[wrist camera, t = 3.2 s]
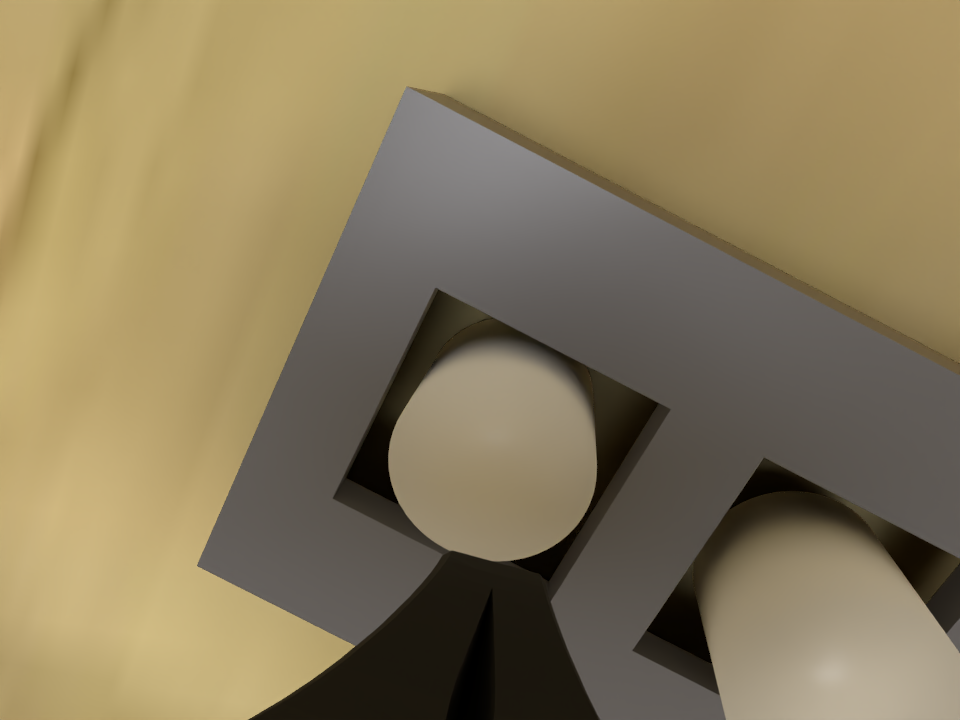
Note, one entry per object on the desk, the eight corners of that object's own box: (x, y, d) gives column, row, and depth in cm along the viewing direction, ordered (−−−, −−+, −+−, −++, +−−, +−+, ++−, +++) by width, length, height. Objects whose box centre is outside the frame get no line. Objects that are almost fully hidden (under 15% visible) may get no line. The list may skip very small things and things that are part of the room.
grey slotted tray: (1334, 560, 18) (1531, 674, 15) (1023, 871, 22) (1117, 1029, 18) (443, 94, 18) (406, 86, 14) (266, 486, 21) (196, 566, 17)
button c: (625, 367, 19) (636, 430, 15) (544, 503, 20) (535, 594, 16) (471, 287, 18) (442, 330, 15) (399, 429, 20) (355, 503, 16)
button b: (923, 545, 17) (1023, 669, 13) (815, 682, 18) (878, 831, 14) (756, 458, 17) (807, 557, 13) (658, 602, 18) (679, 731, 14)
